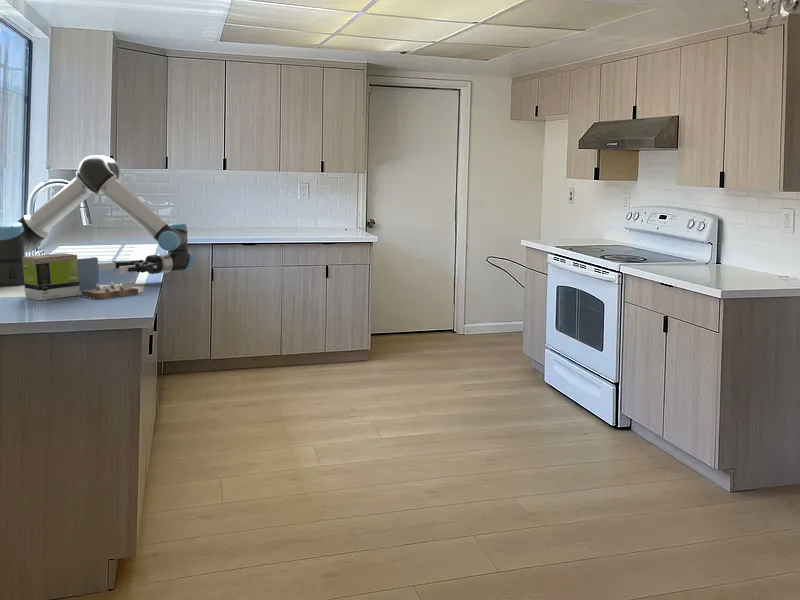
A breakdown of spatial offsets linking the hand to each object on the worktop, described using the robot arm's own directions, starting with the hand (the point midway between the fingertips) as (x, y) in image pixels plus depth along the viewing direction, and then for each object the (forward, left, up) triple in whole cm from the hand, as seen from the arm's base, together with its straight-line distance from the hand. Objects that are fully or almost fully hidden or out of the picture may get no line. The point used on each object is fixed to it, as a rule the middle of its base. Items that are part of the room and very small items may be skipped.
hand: (109, 268), depth 289 cm
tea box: (+25, -8, -7) cm, 27 cm away
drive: (+8, -5, -7) cm, 12 cm away
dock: (+17, +9, -7) cm, 20 cm away
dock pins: (+17, +9, -5) cm, 20 cm away
